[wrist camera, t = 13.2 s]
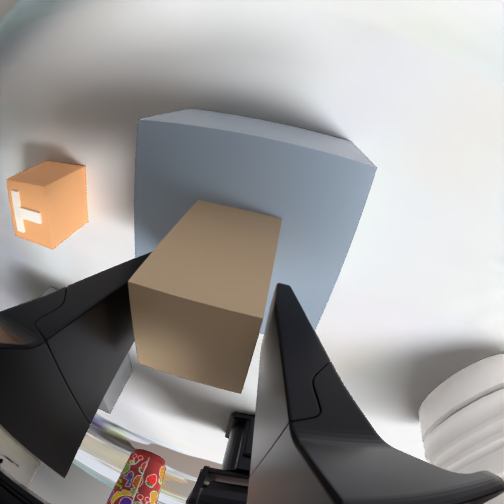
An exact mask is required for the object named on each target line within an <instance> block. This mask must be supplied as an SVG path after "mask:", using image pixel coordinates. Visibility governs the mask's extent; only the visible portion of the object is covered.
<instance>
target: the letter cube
mask: <svg viewBox="0 0 504 504" xmlns="http://www.w3.org/2000/svg"><path fill="white" fill-rule="evenodd" d="M6 180H7V189H8V196H9V203H10V209H11V215H12V220H13V226H14V231H15V235H16V236H18V237H21V238H23V239H26V240H29V241H31V242H34V243H37V244H39V245H42V246H45V247H47V248H50V249H54V248H56V247H57V246H58V245H59V244H60V243H62V242H63V241H64V240H65V239H67V238H68V237H69V236H70V235H72V234H73V233H74V232H76V231H77V230H78V229H79V228H81V227H82V226H83V225H85V224H86V223H87V222H88V210H87V193H86V166H81V165H74V164H67V163H59V162H52V161H44V162H42V163H40V164H38V165H35V166H33V167H31V168H29V169H27V170H24V171H22V172H20V173H18V174H16V175H14V176H12V177H10V178H8V179H6Z"/></svg>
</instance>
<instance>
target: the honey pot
mask: <svg viewBox="0 0 504 504" xmlns="http://www.w3.org/2000/svg"><path fill="white" fill-rule="evenodd" d="M419 421H420V427H421V433H422V439H423V442H424V449H425V457H426V460H428V461H429V462H430V463H431V464H432V465H435V466H437V467H440V468H442V469H445V470H448V471H451V472H456V473H462V474H469V473H475V472H479V471H483V470H486V471H490V472H492V473H494V474H495V475H498V476H499V477H501V478H502V479H503V480H504V354H497V355H494V356H490V357H487V358H484V359H482V360H480V361H478V362H475V363H473V364H471V365H469V366H467V367H466V368H464V369H462V370H460V371H458V372H457V373H455V374H454V375H452V376H451V377H449V378H448V379H447V380H445V381H444V382H442V383H441V384H440V385H439V386H438V387H436V388H435V389H434V390H433V391H432V392H431V393H430V394H429V395H428V396H427V397H426V399H425V400H424V401H423V402H422V404H421V406H420V409H419ZM483 504H504V492H503V493H502V494H500V495H499V496H497V497H495V498H493V499H491V500H489V501H487V502H485V503H483Z"/></svg>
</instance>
